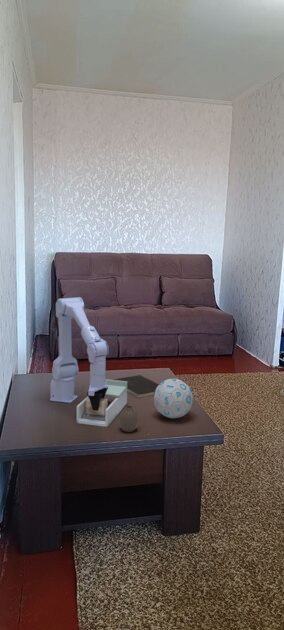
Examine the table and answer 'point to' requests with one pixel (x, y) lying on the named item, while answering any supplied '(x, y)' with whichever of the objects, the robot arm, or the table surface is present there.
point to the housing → (101, 419)
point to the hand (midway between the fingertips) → (97, 407)
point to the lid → (115, 387)
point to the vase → (128, 419)
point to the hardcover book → (139, 385)
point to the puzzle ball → (173, 398)
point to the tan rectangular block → (102, 407)
